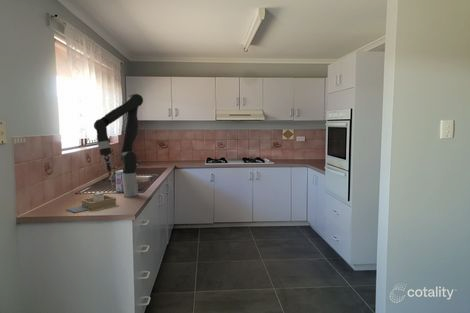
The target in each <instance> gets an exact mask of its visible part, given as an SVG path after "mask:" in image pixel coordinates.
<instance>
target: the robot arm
mask: <svg viewBox="0 0 470 313" xmlns="http://www.w3.org/2000/svg"><path fill="white" fill-rule="evenodd" d="M143 102H144V98H143V96H142V95H141V94H139V93H138V94H137V93H135V94H130V95H129V96H128V97H127V101H125V102H124V103H123V104H121V105H119V106H117V107H116V108H114V109H112V110H111V111H109V112H108V113H106V114H105V115H104V116H103V117H101V118H100V119H99V118H98V119H96V120H95V121H94V123H93V128H94V129H95V131H96V139H97V144H98V145H97V146H98V151H99V155H100V156H101V157H103V156H104V157H103V160H104V164H105V165H106V169H107V171H108V172H111V171H112V168H111V162H112V161H111V157H110V156H109V155H112V153H113V152H112V149H111V144H110V141H109V136H108V131H107V130H108V129H107V127H108V126H109V125H111V124H112V123H114V122H115V121H117V120H119V119H120V118H122V116H124V115H125V114H126V118H125V125H124V134H123V135H124V136H123V141H122V142H123V143H122V144H123V145H122V148H121V153H120V161H121V162H122V163H124V168H123V169H122V170H123V186H124V192H123V197H126V198H130V197H131V198H132V197H136V196H139V188H138V187H139V184H138V182H137V168H138V164H137V163H138V161H137V160H138V159H137V155H136V154H137V153H135V152H134V151H133V146H134V143H135V140H136V139H137V136H138V131H139V121H138V109H139V107H141V106H142V104H143Z"/></svg>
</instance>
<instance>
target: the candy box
mask: <svg viewBox="0 0 470 313" xmlns="http://www.w3.org/2000/svg"><path fill="white" fill-rule="evenodd" d="M114 175H115V192H116V193H118V192H119V193H124V186H123V169H120V170H116V171H114Z"/></svg>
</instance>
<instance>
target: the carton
mask: <svg viewBox="0 0 470 313" xmlns="http://www.w3.org/2000/svg"><path fill="white" fill-rule="evenodd" d="M79 206H82V207H85V208H87V209H89V210H91V211H95V212H97V211H101V210H105V209H106V210H107V209H110V208H114V207H119V206H120V205H119V204H117V198H116V197H113V196H110V195H106V194H105V195H104V200H102V201H97V202H94V198H93V197H89V198H83V199H81V204H79Z"/></svg>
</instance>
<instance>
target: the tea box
mask: <svg viewBox="0 0 470 313" xmlns="http://www.w3.org/2000/svg"><path fill="white" fill-rule="evenodd" d="M92 195H93V196H92V198H94V202H97V201H102V200H104V193H103V192H97V193H96V192H95V193H92Z"/></svg>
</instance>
